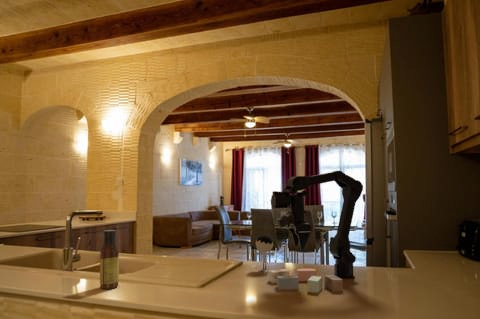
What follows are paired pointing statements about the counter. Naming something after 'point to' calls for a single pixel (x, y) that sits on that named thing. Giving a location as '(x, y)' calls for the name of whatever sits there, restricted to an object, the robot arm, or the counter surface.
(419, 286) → the counter surface
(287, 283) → the slate block
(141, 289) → the counter surface
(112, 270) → the sauce bottle
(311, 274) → the terracotta block
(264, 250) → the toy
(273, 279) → the birch block
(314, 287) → the sage block
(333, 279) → the walnut block
